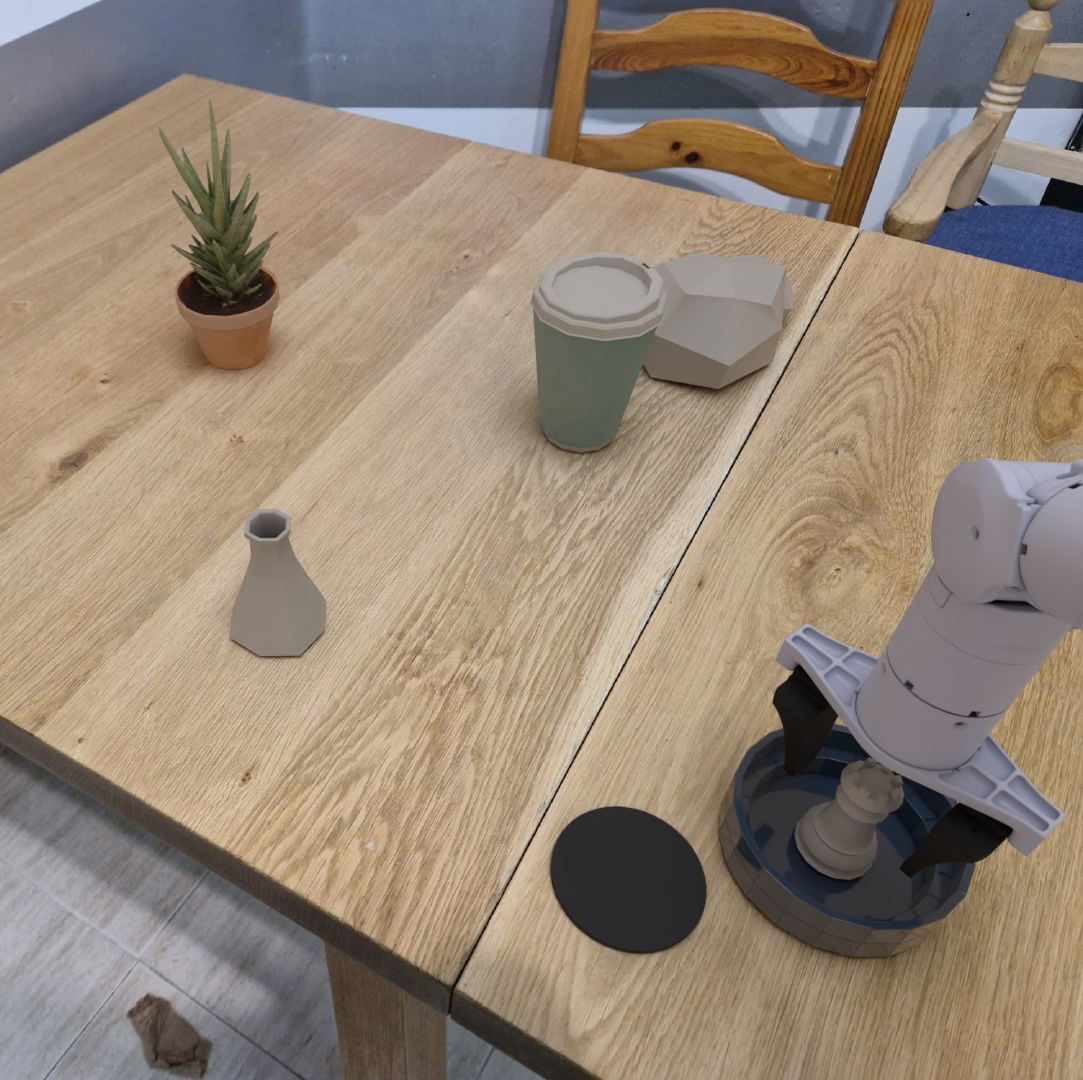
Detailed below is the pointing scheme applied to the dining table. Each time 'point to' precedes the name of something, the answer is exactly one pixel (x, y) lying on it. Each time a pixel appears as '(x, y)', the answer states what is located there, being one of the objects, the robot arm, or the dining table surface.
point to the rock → (718, 318)
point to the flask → (275, 592)
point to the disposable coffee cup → (592, 343)
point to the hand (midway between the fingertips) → (854, 812)
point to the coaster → (628, 879)
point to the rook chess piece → (849, 821)
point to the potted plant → (224, 265)
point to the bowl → (813, 897)
